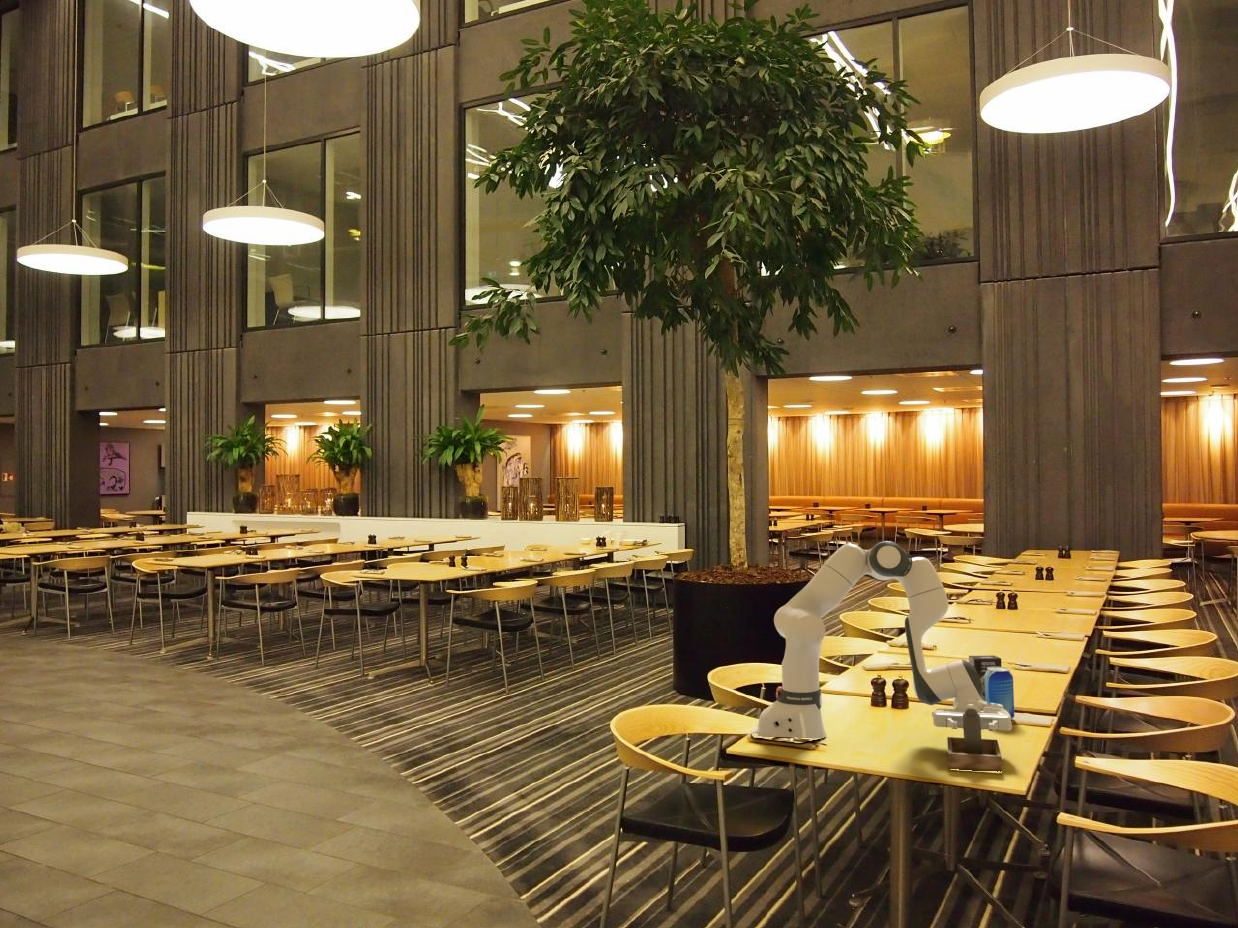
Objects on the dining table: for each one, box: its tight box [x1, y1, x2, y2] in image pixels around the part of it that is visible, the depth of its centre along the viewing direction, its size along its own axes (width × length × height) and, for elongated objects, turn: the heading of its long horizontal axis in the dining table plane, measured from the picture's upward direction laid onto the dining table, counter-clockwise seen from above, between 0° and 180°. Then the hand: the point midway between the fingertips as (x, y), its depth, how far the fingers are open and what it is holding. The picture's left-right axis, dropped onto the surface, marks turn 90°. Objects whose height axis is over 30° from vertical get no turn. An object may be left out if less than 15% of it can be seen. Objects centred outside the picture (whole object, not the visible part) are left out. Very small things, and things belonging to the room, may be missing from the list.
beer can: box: [984, 666, 1015, 721], centre depth 293 cm, size 8×8×16 cm
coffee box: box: [968, 654, 1002, 701], centre depth 312 cm, size 9×6×16 cm
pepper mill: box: [962, 704, 982, 754], centre depth 249 cm, size 4×4×15 cm
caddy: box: [946, 736, 1003, 772], centre depth 249 cm, size 13×16×4 cm
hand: (972, 726), depth 248 cm, fingers open, 8 cm apart
